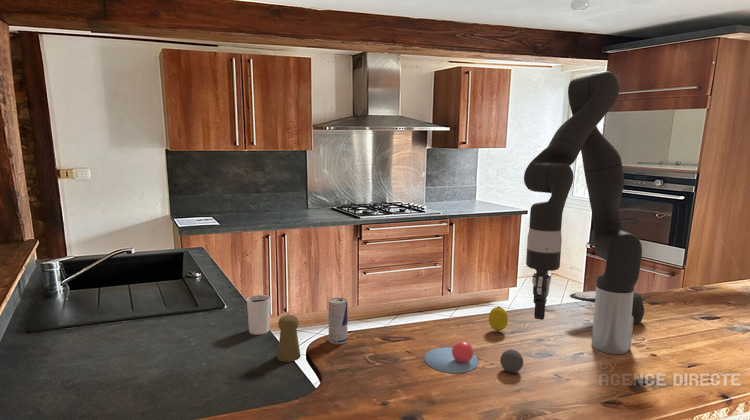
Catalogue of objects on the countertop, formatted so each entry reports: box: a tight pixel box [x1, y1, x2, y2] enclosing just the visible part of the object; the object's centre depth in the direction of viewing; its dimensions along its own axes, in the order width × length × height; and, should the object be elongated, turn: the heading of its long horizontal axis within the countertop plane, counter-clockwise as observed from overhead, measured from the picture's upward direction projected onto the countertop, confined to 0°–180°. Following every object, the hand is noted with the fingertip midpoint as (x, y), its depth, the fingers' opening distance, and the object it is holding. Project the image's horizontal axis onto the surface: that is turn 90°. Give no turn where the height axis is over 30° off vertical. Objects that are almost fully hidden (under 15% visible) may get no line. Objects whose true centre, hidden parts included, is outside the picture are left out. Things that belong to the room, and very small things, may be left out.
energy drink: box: [328, 297, 348, 346], centre depth 135 cm, size 5×5×12 cm
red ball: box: [451, 340, 474, 363], centre depth 123 cm, size 6×6×6 cm
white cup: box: [246, 294, 271, 336], centre depth 142 cm, size 7×7×10 cm
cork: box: [276, 314, 301, 363], centre depth 125 cm, size 6×6×11 cm
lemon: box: [488, 305, 509, 333], centre depth 143 cm, size 6×6×8 cm
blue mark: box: [423, 347, 479, 374], centre depth 125 cm, size 14×14×1 cm
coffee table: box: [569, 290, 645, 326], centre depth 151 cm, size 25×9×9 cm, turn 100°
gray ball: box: [499, 349, 524, 374], centre depth 118 cm, size 6×6×6 cm
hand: (539, 318), depth 114 cm, fingers closed
